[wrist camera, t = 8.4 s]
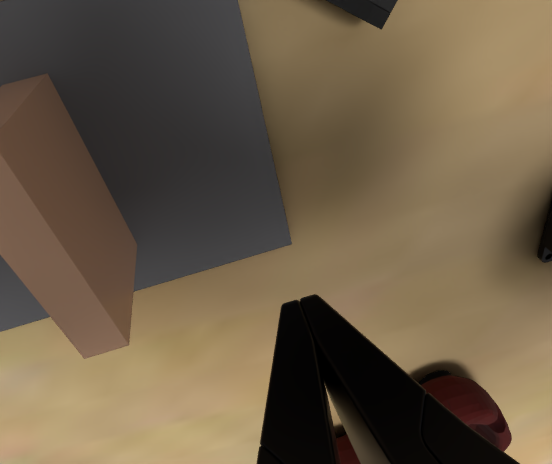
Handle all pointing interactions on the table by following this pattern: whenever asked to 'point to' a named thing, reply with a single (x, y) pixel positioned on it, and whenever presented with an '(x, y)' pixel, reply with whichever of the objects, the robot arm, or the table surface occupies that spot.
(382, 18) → the film camera
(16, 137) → the tile
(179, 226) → the mat
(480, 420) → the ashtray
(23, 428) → the table surface
